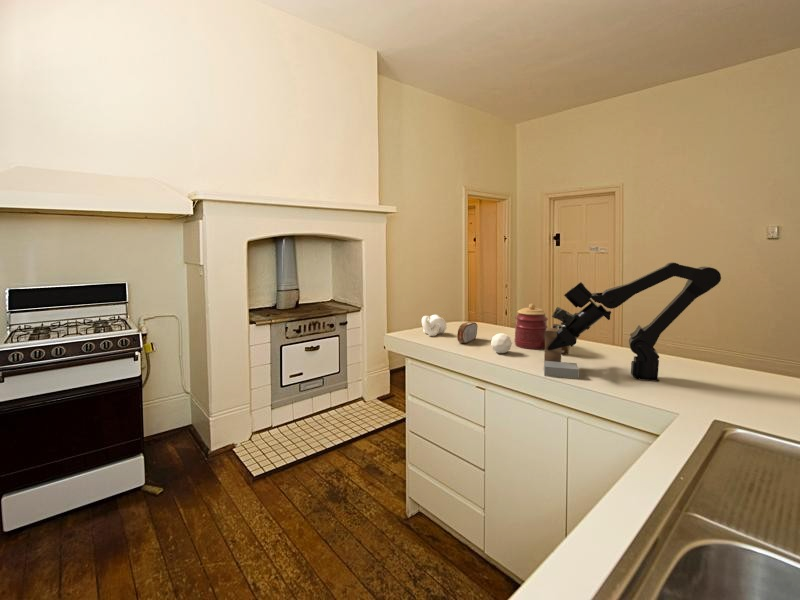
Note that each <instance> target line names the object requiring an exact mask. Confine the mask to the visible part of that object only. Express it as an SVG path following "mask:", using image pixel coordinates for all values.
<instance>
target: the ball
mask: <svg viewBox="0 0 800 600" xmlns="http://www.w3.org/2000/svg"><path fill="white" fill-rule="evenodd" d="M490 344H491V347H492V350H493V351H494V352H496V353H497V354H506V353H507V352H509V351H510V350H511V349H512V344H513V342H512V339H511V337H510V336H509V335H507V334H506V333H497V334H495V335H493V336H492V338H491V342H490Z"/></svg>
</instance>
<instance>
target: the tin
mask: <svg viewBox="0 0 800 600" xmlns="http://www.w3.org/2000/svg"><path fill="white" fill-rule="evenodd" d="M478 328H479V327H478V324H477V323H476V322H474V321H466V322H464V323H461V324H460V326H459V328H458V329H457V334H456V335H457V338H456V339H457V342H459V343H461V344H467V343H470V342H472V341H474V340H475V339H476V338H477V334H478Z"/></svg>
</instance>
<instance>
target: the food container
mask: <svg viewBox="0 0 800 600" xmlns="http://www.w3.org/2000/svg"><path fill="white" fill-rule="evenodd" d="M560 325H561V323H553V324H552V328H558V329H559V326H560ZM561 326H563V325H561ZM569 349H570V346H565V347H562V352H561V356H562V355H567V354H568V353H569Z"/></svg>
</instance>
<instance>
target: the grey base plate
mask: <svg viewBox="0 0 800 600" xmlns="http://www.w3.org/2000/svg"><path fill="white" fill-rule="evenodd" d="M579 371H580V368H579V367H578V363H577V362H567V361H566V362H565V361H561V362H554V361H543V374H544V376H545V377H555V378H567V379H577V380H578V379H579V378H580V377H579V376H580V375H579V373H580V372H579Z"/></svg>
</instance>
